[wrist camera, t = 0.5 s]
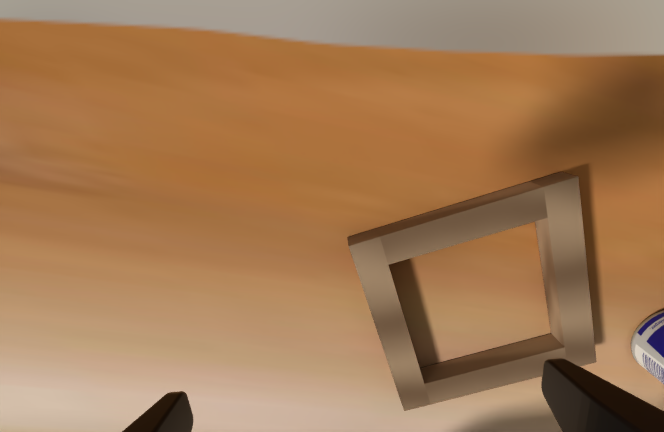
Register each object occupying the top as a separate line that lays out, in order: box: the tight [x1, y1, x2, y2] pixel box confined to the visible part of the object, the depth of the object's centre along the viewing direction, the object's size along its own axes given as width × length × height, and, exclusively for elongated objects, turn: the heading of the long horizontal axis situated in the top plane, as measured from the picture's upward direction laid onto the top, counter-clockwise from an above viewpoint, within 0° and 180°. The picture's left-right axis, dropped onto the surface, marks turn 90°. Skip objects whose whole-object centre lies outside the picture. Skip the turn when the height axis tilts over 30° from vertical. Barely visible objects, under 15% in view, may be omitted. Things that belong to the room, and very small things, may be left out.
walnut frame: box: [347, 172, 596, 411], centre depth 23 cm, size 14×14×2 cm
